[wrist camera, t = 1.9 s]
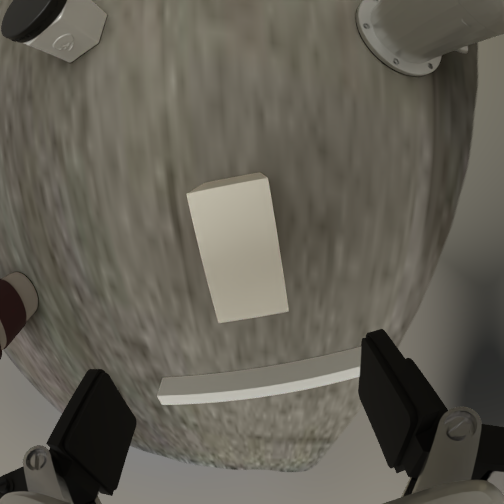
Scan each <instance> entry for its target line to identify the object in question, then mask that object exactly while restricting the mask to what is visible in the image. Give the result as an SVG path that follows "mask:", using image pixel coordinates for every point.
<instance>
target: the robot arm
mask: <svg viewBox="0 0 504 504" xmlns="http://www.w3.org/2000/svg"><path fill="white" fill-rule="evenodd" d="M356 23H357V27H358V30H359V32H360V35H361V37H362V39H363V40H364V42H365V43H366V45H367V46H368V48H369V49H370V50H371V51H372V52H373V53H374V55H376V56H377V57H378V58H379V59H380V60H381V61H382V62H383V63H385V64H386V65H388V66H389V67H390V68H392V69H394V70H396V71H398V72H400V73H403V74H405V75H410V76H423V75H427V74H429V73H431V72H433V71H434V70H435V69H437V67H438V66H439V64H440V61H441V57H442V55H444V54H446V53H449V52H452V51H456V52H460V53H463V54H466V53H467V52H468V45H471V44H474V43H477V42H480V41H483V40H486V39H489V38H491V37H495V36H499V35H502V34H504V0H363V1H362V2H361V3H360V5H359V6H358V8H357V12H356ZM358 392H359V397H360V400H361V402H362V404H363V407H364V409H365V411H366V413H367V416H368V418H369V421H370V423H371V425H372V428H373V430H374V432H375V435H376V437H377V439H378V442H379V444H380V447H381V449H382V451H383V454H384V456H385V459H386V461H387V464H388V466H389V467H390V468H393V467H394V468H395V470H396V473H399V472H401V471H404V470H406V473H407V475H408V477H410V479H409V481H408V484H407V486H406V488H405V490H404V492H403V495H402V497H401V498H398V499H396V500H393V501H389V502H386V503H384V504H504V495H503V494H502V493H504V427H499V426H492V425H485V424H481V419H480V417H479V415H478V414H477V413H476V412H475V411H474V410H472V409H470V408H466V407H456V408H453V409H450V410H449V411H448V410H447V408H446V407H445V405H444V404H443V402H442V401H441V400H440V398H439V396H438V395H437V393H436V392H435V391H434V389H433V388H432V386H431V385H430V384H429V382H428V381H427V379H426V378H425V377H424V375H423V374H422V373H421V371H420V370H419V368H418V367H417V365H416V364H415V363H414V362H413V360H412V359H410V358H407V359H405V358H404V357H403V355H402V354H401V352H400V351H399V350H398V348H397V347H396V346H395V344H394V343H393V341H392V340H391V339H390V337H389V336H388V335H387V333H386V332H385V331H384V330H383V329H380V330H376V331H373V332H369V333H367V335H366V338H363V339H362V344H361V363H360V377H359V389H358ZM135 428H136V418H135V416H134V415H133V413H132V412H131V410H130V409H129V407H128V406H127V404H126V402H125V401H124V399H123V398H122V396H121V395H120V393H119V391H118V390H117V388H116V386H115V385H114V383H113V381H112V380H111V378H110V376H109V375H108V374H107V373H105V371H104V370H102V369H90V370H88V371H87V373H86V374H85V376H84V378H83V379H82V381H81V383H80V384H79V386H78V388H77V389H76V391H75V393H74V394H73V396H72V398H71V399H70V401H69V403H68V405H67V406H66V408H65V410H64V412H63V414H62V415H61V417H60V419H59V421H58V423H57V425H56V426H55V428H54V430H53V432H52V434H51V436H50V438H49V439H48V442H47V444H48V446H49V447H50V450H48V449H47V448H46V447H44V446H40V445H38V446H34V447H32V448H30V449H29V450H28V451H27V452H26V454H25V456H24V459H23V467H21V468H19V469H17V470H15V471H12V472H10V473H8V474H5V475H3V476H1V477H0V504H101V502H100V500H99V498H98V491H99V492H100V493H102V494H107V495H111V496H112V495H113V491H114V490H116V489H117V486H118V483H119V480H120V476H121V472H122V469H123V466H124V462H125V459H126V456H127V452H128V450H129V446H130V443H131V440H132V437H133V434H134V431H135Z"/></svg>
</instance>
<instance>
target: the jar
mask: <svg viewBox="0 0 504 504" xmlns="http://www.w3.org/2000/svg"><path fill="white" fill-rule="evenodd" d="M106 18H107V14H106V13H105V12H104V11H103V10H102V9H101V8H100V7H99V6H97V5H96V4H95V3H94V2H93V1H92V0H13V2H12V3H11V4H10V6H9V8H8V9H7V11H6V13H5V16H4V18H3V21H2V26H1V31H2V34H3V36H4V37H6V38H8V39H11V40H12V41H15V42H16V41H17V42H20V43H24V44H26V45H28V46H31V47H33V48H36V49H38V50H41V51H43V52H46V53H48V54H50V55H53V56H55V57H57V58H60V59H62V60H64V61H67V62H69V63H71V62H73V61H74V60H75V59H77V58H78V57H79V56H81V55H82V54H83V53H85V52H86V51H88V50H89V49H91V48H92V47H94V46H95V45H97V44H98V43H99V40H100V37H101V33H102V30H103V27H104V24H105V21H106Z"/></svg>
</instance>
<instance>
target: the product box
mask: <svg viewBox="0 0 504 504" xmlns="http://www.w3.org/2000/svg"><path fill="white" fill-rule="evenodd" d="M187 199H188V203H189V208H190V212H191V217H192V221H193V225H194V230H195V234H196V238H197V242H198V246H199V251H200V255H201V259H202V263H203V267H204V271H205V274H206V278H207V282H208V286H209V290H210V294H211V297H212V301H213V305H214V308H215V312H216V316H217V319H218V323H223V322H230V321H236V320H243V319H249V318H255V317H261V316H267V315H272V314H278V313H283V312H289V309H288V302H287V295H286V288H285V281H284V275H283V268H282V261H281V255H280V248H279V242H278V236H277V229H276V223H275V217H274V211H273V205H272V199H271V193H270V187H269V181H268V178H267V177H266V176H265V175H263V174H262V173H261V172H259V173H253V174H247V175H242V176H236V177H231V178H226V179H221V180H216V181H211V182H206V183H204V184H202V185H200V186H199V187H197V188H195V189H194V190H192V191H190V192H189V193H187Z"/></svg>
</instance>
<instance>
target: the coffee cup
mask: <svg viewBox="0 0 504 504" xmlns="http://www.w3.org/2000/svg"><path fill="white" fill-rule="evenodd" d="M37 307H38V297H37V293H36V290H35V288H34V286H33V284H32V283H31V281H30V280H29V279H28V278H27V277H26V276H25V275H23V274H22V273H19V272H14V273H11V274H10V275H8V276H6V277H4V278H2V279H0V359H1V356H2V350H3V349H5V348H6V347H7V346H8V345H9V344H10V343H11V341H12V340H13V339H14V338H15V336H16V335H17V334H18V333H19V332H20V331H21V329H22V328H23V327H24V326H25V324H26V321H27V320H28V319H29V318H30V317H31V316H32V315H33V314H34V313H35V311H36V310H37Z"/></svg>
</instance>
